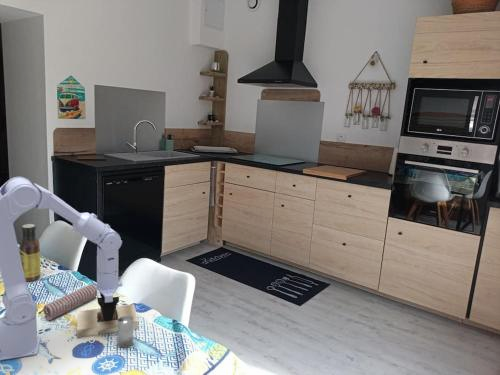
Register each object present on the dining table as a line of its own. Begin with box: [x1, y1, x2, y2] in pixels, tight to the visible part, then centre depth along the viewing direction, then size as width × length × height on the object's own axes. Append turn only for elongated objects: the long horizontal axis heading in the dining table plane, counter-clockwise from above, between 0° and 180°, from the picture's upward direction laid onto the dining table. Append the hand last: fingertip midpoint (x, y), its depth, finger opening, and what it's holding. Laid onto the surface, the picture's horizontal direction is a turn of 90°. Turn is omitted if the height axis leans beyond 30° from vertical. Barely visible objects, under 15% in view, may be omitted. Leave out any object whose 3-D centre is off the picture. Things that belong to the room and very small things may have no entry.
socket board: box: [76, 303, 139, 339], centre depth 110 cm, size 16×10×2 cm, turn 113°
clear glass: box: [116, 316, 134, 349], centre depth 102 cm, size 4×4×7 cm
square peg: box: [100, 307, 117, 322], centre depth 110 cm, size 4×4×7 cm
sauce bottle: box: [18, 223, 41, 282], centre depth 132 cm, size 6×6×20 cm
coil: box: [42, 283, 99, 322], centre depth 118 cm, size 5×5×18 cm
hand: (107, 313), depth 110 cm, fingers open, 7 cm apart
